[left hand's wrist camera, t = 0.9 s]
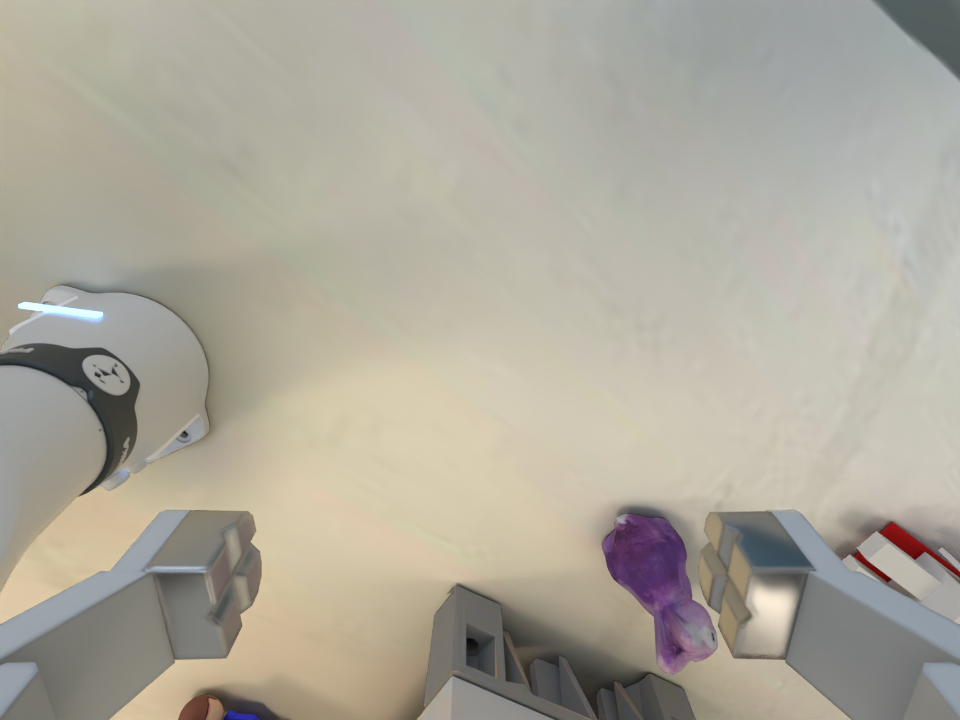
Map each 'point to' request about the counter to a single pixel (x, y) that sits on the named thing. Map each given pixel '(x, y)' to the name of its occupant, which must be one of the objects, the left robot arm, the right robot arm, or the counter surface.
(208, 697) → the figurine character
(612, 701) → the record crate
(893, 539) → the toy
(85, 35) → the counter surface
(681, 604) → the figurine
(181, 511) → the left robot arm
